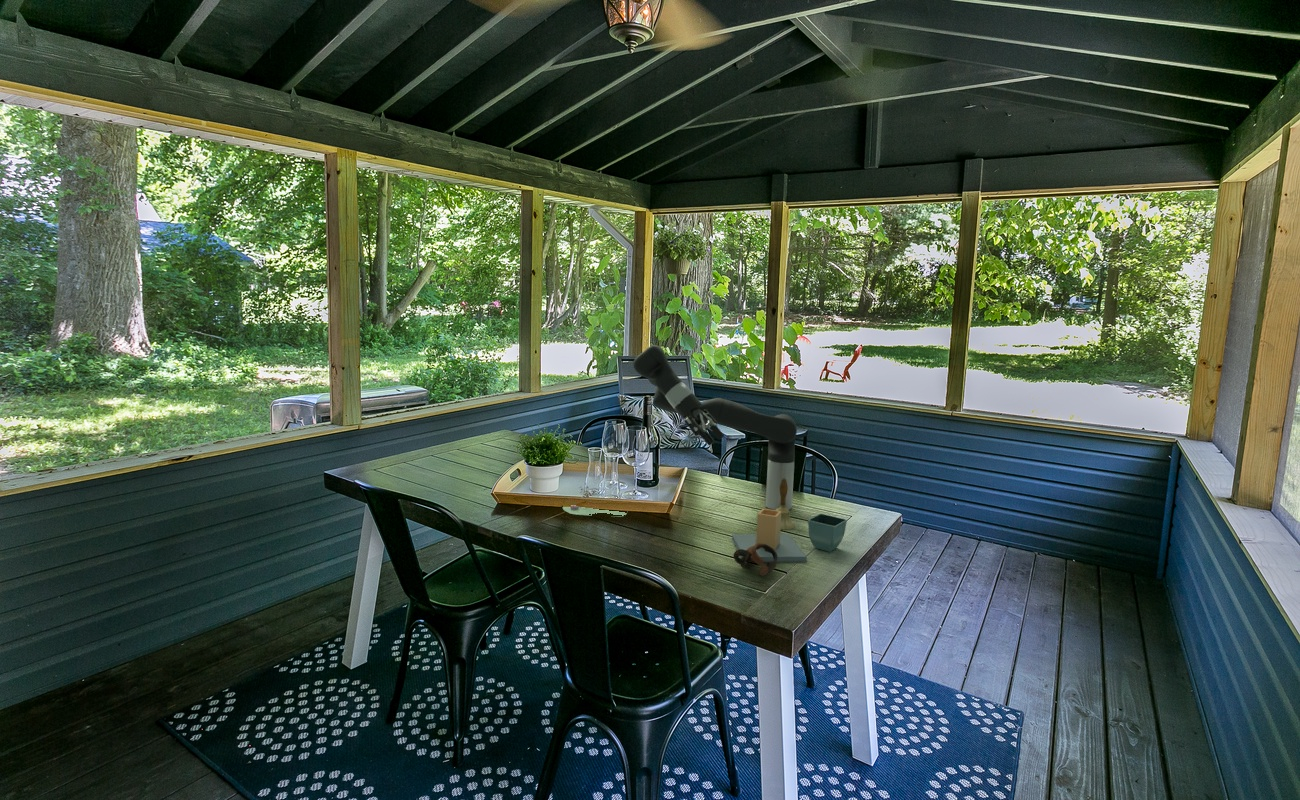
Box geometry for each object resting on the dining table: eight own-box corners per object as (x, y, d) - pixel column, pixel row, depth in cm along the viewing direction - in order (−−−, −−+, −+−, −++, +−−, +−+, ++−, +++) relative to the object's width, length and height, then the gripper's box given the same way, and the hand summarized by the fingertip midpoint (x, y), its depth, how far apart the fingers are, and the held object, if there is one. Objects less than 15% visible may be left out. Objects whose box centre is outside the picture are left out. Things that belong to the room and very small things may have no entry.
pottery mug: (763, 561, 190) (776, 542, 186) (770, 588, 182) (784, 569, 178) (725, 554, 187) (737, 534, 183) (731, 581, 179) (744, 561, 175)
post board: (731, 538, 206) (733, 513, 205) (788, 538, 207) (790, 513, 206) (744, 562, 188) (745, 534, 187) (806, 561, 190) (808, 534, 188)
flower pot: (818, 540, 206) (820, 512, 205) (845, 547, 201) (847, 519, 199) (805, 548, 199) (807, 519, 198) (833, 556, 194) (835, 526, 192)
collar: (756, 546, 196) (757, 513, 195) (761, 540, 201) (763, 508, 200) (774, 549, 194) (776, 516, 192) (779, 543, 199) (781, 511, 197)
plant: (640, 505, 239) (641, 481, 237) (617, 523, 220) (617, 496, 218) (578, 496, 247) (578, 472, 246) (550, 512, 228) (550, 487, 227)
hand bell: (794, 530, 214) (797, 483, 212) (768, 528, 216) (771, 481, 213) (794, 522, 222) (797, 476, 220) (769, 520, 224) (771, 474, 221)
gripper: (684, 404, 213) (716, 443, 210) (665, 411, 200) (699, 453, 197) (700, 389, 210) (733, 428, 207) (682, 395, 197) (717, 437, 194)
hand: (717, 440), depth 202 cm, fingers open, 8 cm apart
